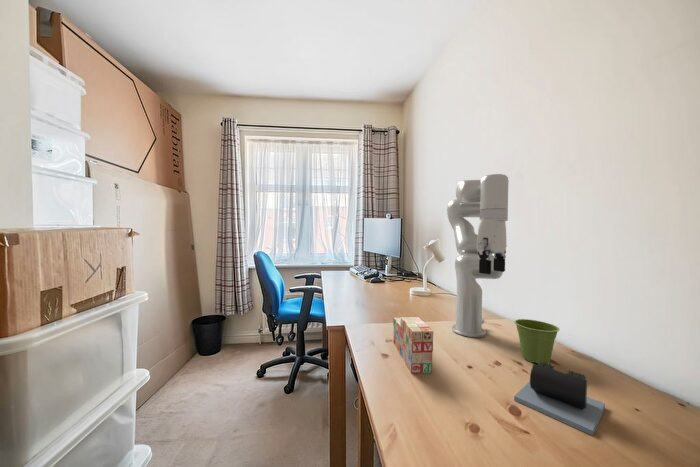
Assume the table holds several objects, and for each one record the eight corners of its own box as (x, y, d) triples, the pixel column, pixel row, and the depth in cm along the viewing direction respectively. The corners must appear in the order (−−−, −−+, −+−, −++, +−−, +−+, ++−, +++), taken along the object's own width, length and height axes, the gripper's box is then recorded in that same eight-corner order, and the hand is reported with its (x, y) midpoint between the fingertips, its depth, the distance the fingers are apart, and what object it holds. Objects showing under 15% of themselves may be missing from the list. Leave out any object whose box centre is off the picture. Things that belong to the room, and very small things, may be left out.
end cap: (529, 395, 63) (530, 367, 63) (536, 384, 68) (536, 358, 68) (584, 417, 56) (585, 385, 56) (588, 402, 61) (588, 373, 61)
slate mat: (534, 380, 72) (534, 377, 72) (604, 407, 61) (604, 403, 61) (514, 400, 63) (514, 395, 63) (592, 435, 52) (592, 430, 52)
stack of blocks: (392, 342, 96) (393, 309, 96) (409, 342, 96) (410, 308, 96) (411, 374, 74) (412, 330, 74) (432, 373, 75) (433, 330, 75)
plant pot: (565, 363, 82) (566, 327, 82) (548, 372, 76) (548, 334, 76) (524, 348, 93) (525, 316, 93) (506, 356, 86) (506, 321, 86)
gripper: (492, 218, 88) (491, 269, 88) (467, 214, 77) (466, 273, 77) (518, 217, 82) (517, 271, 82) (494, 213, 72) (492, 276, 72)
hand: (492, 272), depth 80 cm, fingers open, 9 cm apart
